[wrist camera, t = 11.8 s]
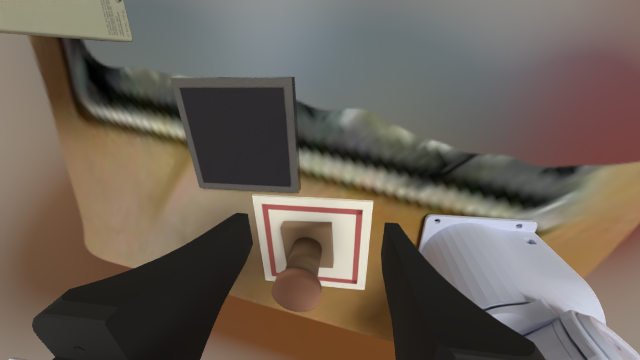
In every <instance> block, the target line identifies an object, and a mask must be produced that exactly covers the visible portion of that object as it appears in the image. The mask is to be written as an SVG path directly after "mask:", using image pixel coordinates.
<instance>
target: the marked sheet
mask: <svg viewBox="0 0 640 360" xmlns="http://www.w3.org/2000/svg"><path fill="white" fill-rule="evenodd" d="M252 198H253V204H254V211H255V217H256V223H257V229H258V236H259V242H260V248H261V254H262V261H263V267H264V273H265V279H266V280H268V281H275V279H276V277H277V275H278V274H279V273H280V272H281V271H283V270H285V268H286V265H287V264H286V258H285V252H284V246H283V240H282V235H281V229H280V228H281V226H282V224H283V221H311V222H332V233H333V251H334V264H333V268H320V267H319V272H318V279H319V281H320V283H321V286H328V287H338V288H348V289H359V290H365V280H366V270H367V260H368V250H369V239H370V229H371V219H372V209H373V201H370V200H352V199H333V198H315V197H296V196H277V195H259V194H253V195H252Z"/></svg>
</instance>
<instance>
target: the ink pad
mask: <svg viewBox="0 0 640 360" xmlns="http://www.w3.org/2000/svg"><path fill="white" fill-rule="evenodd" d="M171 82H172V86H173V89H174V93H175V97H176V101H177V104H178V108H179V112H180V116H181V119H182V123H183V127H184V131H185V134H186V138H187V142H188V146H189V149H190V153H191V157H192V161H193V164H194V168H195V172H196V176H197V179H198V183H199V187H200V188H214V189H233V190H252V191H271V192H291V193H299V191H300V189H301V182H300V165H299V147H298V129H297V111H296V93H295V77H206V78H203V77H201V78H171Z"/></svg>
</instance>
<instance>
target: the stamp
mask: <svg viewBox="0 0 640 360" xmlns="http://www.w3.org/2000/svg"><path fill="white" fill-rule="evenodd" d="M280 229H281V235H282V240H283V246H284V252H285V258H286V264H287V265H286V268H285V270H283V271H281V272H280V273H279V274H278V275H277V277H276V279H275V282H274V285H273V288H272V295H273V298H274V299H275V301H276V302H277V303H278V304H279V305H281V306H282V307H284V308H286V309H288V310H291V311H295V312H306V311H310V310H312V309H314V308H315V307H317V306H318V304H319V302H320V296H321V289H322V287H321V283H320V281H319V279H318V272H319V267H320V268H333V264H334V251H333V233H332V222H311V221H283V224H282V226H281V228H280Z"/></svg>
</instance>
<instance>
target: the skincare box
mask: <svg viewBox="0 0 640 360" xmlns="http://www.w3.org/2000/svg"><path fill="white" fill-rule="evenodd" d="M0 33H9V34H22V35H34V36H47V37H61V38H74V39H87V40H100V41H117V42H132V35H131V30H130V26H129V22H128V17H127V13H126V9H125V5H124V1H123V0H0Z"/></svg>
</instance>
